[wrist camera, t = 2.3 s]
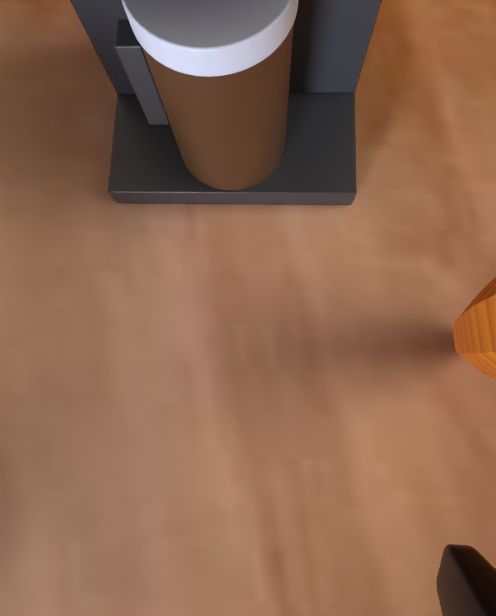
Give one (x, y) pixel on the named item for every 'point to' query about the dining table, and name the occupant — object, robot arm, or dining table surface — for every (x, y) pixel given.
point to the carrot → (479, 331)
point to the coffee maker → (232, 97)
